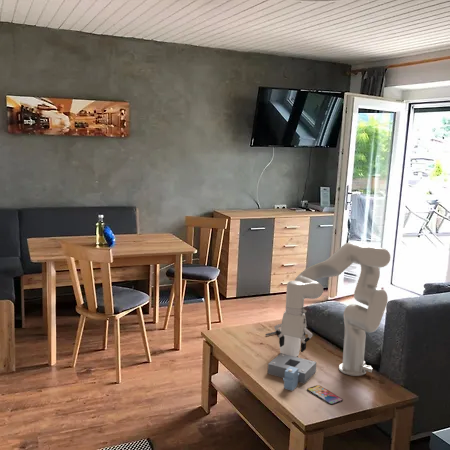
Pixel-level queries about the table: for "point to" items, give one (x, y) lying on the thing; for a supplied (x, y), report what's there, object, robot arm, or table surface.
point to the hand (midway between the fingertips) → (292, 348)
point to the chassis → (285, 361)
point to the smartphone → (324, 395)
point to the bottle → (291, 346)
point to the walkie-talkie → (271, 333)
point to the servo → (291, 378)
